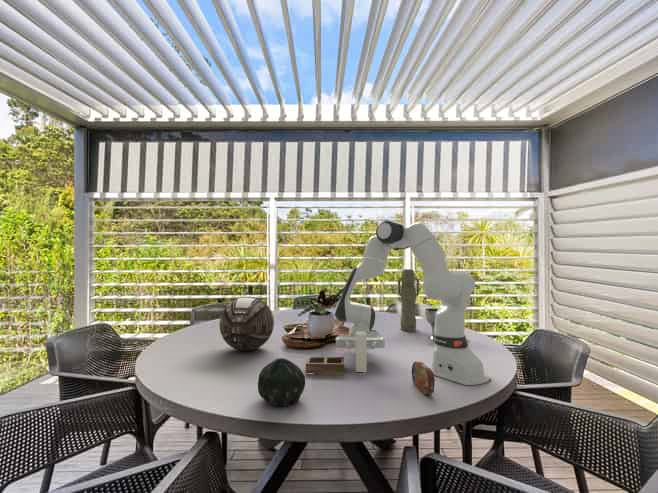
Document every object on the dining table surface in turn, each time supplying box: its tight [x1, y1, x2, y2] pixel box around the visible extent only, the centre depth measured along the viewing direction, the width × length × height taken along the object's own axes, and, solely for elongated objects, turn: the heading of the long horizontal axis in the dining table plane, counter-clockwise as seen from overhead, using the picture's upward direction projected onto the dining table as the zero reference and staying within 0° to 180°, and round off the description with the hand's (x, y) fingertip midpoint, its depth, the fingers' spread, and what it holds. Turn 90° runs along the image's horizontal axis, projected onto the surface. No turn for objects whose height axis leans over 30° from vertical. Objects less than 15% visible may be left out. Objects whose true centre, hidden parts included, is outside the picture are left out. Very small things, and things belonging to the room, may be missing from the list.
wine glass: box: [424, 307, 439, 341], centre depth 191 cm, size 8×8×15 cm
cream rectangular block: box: [355, 331, 368, 373], centre depth 141 cm, size 5×4×15 cm
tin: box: [411, 361, 436, 395], centre depth 123 cm, size 15×3×8 cm, turn 7°
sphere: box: [219, 296, 275, 352], centre depth 170 cm, size 25×25×25 cm
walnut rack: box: [305, 356, 345, 375], centre depth 142 cm, size 9×15×4 cm, turn 88°
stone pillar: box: [397, 268, 420, 333], centre depth 209 cm, size 9×12×35 cm
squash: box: [257, 357, 306, 407], centre depth 114 cm, size 14×15×15 cm
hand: (360, 346), depth 143 cm, fingers open, 8 cm apart
